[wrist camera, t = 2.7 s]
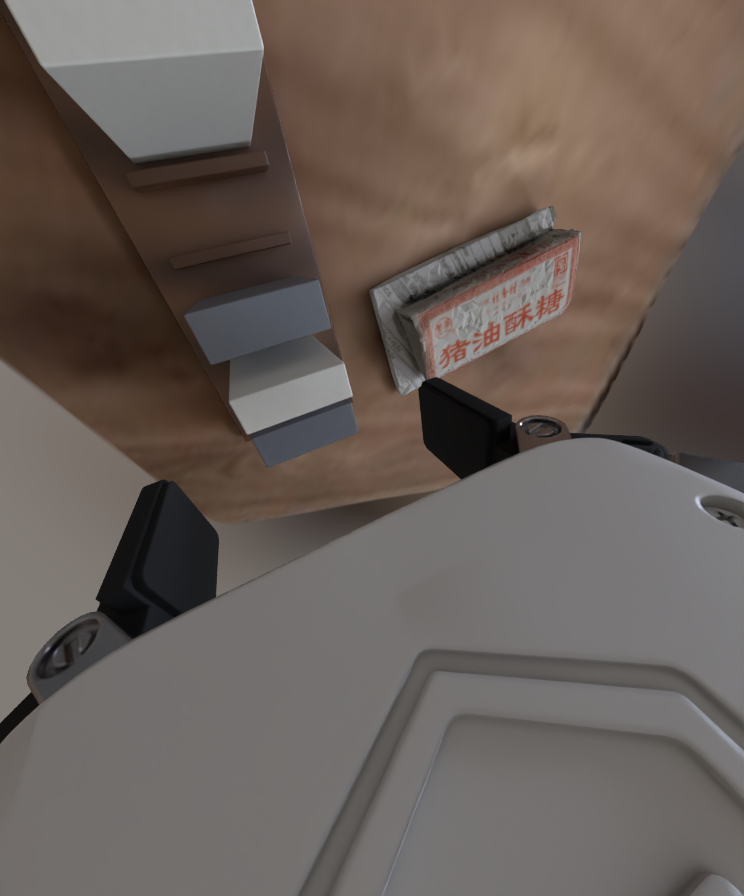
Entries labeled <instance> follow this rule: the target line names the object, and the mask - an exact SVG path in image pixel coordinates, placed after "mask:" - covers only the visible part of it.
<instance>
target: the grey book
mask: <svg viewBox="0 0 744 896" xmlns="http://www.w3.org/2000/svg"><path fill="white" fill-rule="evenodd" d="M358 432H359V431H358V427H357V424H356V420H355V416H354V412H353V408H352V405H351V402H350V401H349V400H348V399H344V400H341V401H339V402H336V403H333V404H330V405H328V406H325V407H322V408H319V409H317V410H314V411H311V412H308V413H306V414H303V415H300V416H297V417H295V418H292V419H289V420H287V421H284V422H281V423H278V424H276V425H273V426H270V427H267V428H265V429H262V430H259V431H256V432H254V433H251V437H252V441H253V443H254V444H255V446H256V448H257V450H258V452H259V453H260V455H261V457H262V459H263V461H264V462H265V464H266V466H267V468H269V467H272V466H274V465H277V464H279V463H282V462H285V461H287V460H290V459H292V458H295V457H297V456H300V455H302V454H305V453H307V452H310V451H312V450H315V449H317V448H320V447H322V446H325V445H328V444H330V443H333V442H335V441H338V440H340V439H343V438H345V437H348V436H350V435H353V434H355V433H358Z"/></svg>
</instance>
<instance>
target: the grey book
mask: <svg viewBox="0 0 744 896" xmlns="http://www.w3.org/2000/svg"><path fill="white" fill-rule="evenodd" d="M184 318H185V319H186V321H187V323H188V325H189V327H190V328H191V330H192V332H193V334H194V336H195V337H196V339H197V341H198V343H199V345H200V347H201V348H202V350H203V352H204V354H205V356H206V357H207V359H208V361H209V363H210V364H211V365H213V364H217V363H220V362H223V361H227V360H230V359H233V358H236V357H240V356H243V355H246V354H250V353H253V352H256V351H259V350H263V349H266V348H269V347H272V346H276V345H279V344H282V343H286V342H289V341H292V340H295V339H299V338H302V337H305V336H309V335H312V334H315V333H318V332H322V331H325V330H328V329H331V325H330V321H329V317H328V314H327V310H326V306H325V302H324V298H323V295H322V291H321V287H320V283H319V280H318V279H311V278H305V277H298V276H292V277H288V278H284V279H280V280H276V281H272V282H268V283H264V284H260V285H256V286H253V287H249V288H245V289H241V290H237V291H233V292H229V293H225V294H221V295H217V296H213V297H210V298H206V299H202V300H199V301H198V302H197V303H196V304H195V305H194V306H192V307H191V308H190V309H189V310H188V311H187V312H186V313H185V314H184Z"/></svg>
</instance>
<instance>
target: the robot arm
mask: <svg viewBox="0 0 744 896" xmlns="http://www.w3.org/2000/svg"><path fill="white" fill-rule="evenodd" d="M418 391H419V401H420V411H421V420H422V430H423V440H424V444H425V446H426V448H427V449H428V450H429V451H431V452H432V453H433V454H434V455H435V456H436V457H437V458H438V459H439V460H440V461H442V462H443V463H444V464H445V465H446V466H447V467H448V468H449V469H450V470H452V471H453V472H454V473H455V474H456V475H457V476H458V477H459V478H460V479H461V480H459V481H457V482H455V483H453V484H451V485H449V486H447V487H445V488H442V489H440V490H438V491H436V492H434V493H432V494H430V495H428V496H425V497H424V498H421V499H419V500H417V501H415V502H413V503H411V504H409V505H406V506H404V507H402V508H400V509H398V510H396V511H394V512H392V513H390V514H388V515H385V516H383V517H381V518H379V519H377V520H375V521H373V522H371V523H369V524H367V525H364V526H362V527H360V528H358V529H356V530H354V531H352V532H350V533H348V534H346V535H344V536H342V537H340V538H337V539H335V540H333V541H331V542H329V543H327V544H325V545H323V546H321V547H319V548H317V549H314V550H312V551H310V552H308V553H306V554H304V555H302V556H300V557H298V558H296V559H294V560H292V561H290V562H288V563H285V564H283V565H281V566H279V567H277V568H275V569H273V570H271V571H269V572H267V573H265V574H263V575H261V576H259V577H257V578H255V579H253V580H250V581H248V582H246V583H244V584H242V585H240V586H238V587H236V588H234V589H232V590H230V591H228V592H226V593H224V594H222V595H219V596H217V597H216V584H217V565H218V548H219V538H218V534H217V532H216V530H215V529H214V528H213V527H212V525H211V524H210V523H209V522H208V521H207V519H206V518H205V517H204V516H203V515H202V514H201V512H200V511H199V510H198V509H197V508H196V506H195V505H194V504H193V503H192V502H191V500H190V499H189V498H188V497H187V496H186V495H185V493H184V492H183V491H182V490H181V489H180V487H179V486H178V485H177V484H176V483H175V482H173V481H170V482H168V481H166V480H161V481H158V482H155V483H153V484H150V485H147V486H145V487H143V488H142V491H141V493H140V495H139V498H138V500H137V502H136V505H135V507H134V509H133V512H132V514H131V517H130V519H129V521H128V524H127V526H126V528H125V531H124V533H123V536H122V538H121V540H120V542H119V545H118V547H117V550H116V552H115V554H114V557H113V559H112V562H111V564H110V566H109V569H108V571H107V573H106V576H105V578H104V580H103V583H102V585H101V588H100V590H99V592H98V595H97V597H96V600H97V601H99V602H100V605H99V607H98V610H97V612H90V613H87V614H85V615H82V616H80V617H78V618H77V619H75V620H73V621H72V622H70V623H69V624H67V625H66V626H65V627H63V628H62V629H61V630H60V631H58V632H57V633H56V634H55V635H54V636H53V637H52V638H51V639H50V640H49V641H48V642H47V643H46V644H45V645H44V646H43V648H42V649H41V650H40V651H39V653H38V654H37V655H36V657H35V658H34V660H33V662H32V664H31V665H30V667H29V671H28V674H27V677H26V678H27V684H28V686H29V688H30V690H31V693H30V694H29V695H28V696H27V697H26V698H25V699H24V700H23V701H22V702H21V703H20V704H19V705H18V706H17V707H16V708H15V709H14V710H13V711H12V712H11V713H10V714H9V715H8V716H7V717H6V718H5V719H4V720H3V721H2V722H1V723H0V896H744V464H742V463H736V462H731V461H726V460H721V459H715V458H710V457H705V456H699V455H694V454H689V453H684V452H678V451H676V452H675V454H674V455H670V454H669V452H668V451H667V449H666V448H665V447H663V446H662V445H660V444H658V443H657V442H654V441H652V440H650V439H648V438H645V437H640V436H622V435H601V434H581V433H569V430H568V428H567V426H566V425H565V423H563V422H562V421H560V420H558V419H556V418H553V417H549V416H542V415H534V416H528V417H524V418H522V419H520V420H519V421H518V422H517V423H514V422H512V415H510V414H508V413H506V412H504V411H502V410H500V409H499V408H497V407H495V406H493V405H491V404H489V403H487V402H485V401H483V400H481V399H479V398H477V397H475V396H473V395H471V394H469V393H467V392H465V391H463V390H461V389H459V388H457V387H456V386H454V385H452V384H450V383H448V382H446V381H444V380H442V379H440V378H438V377H434V378H431V379H428V380H426V381H423V382H422V384H421V386H420V387H419V389H418Z"/></svg>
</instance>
